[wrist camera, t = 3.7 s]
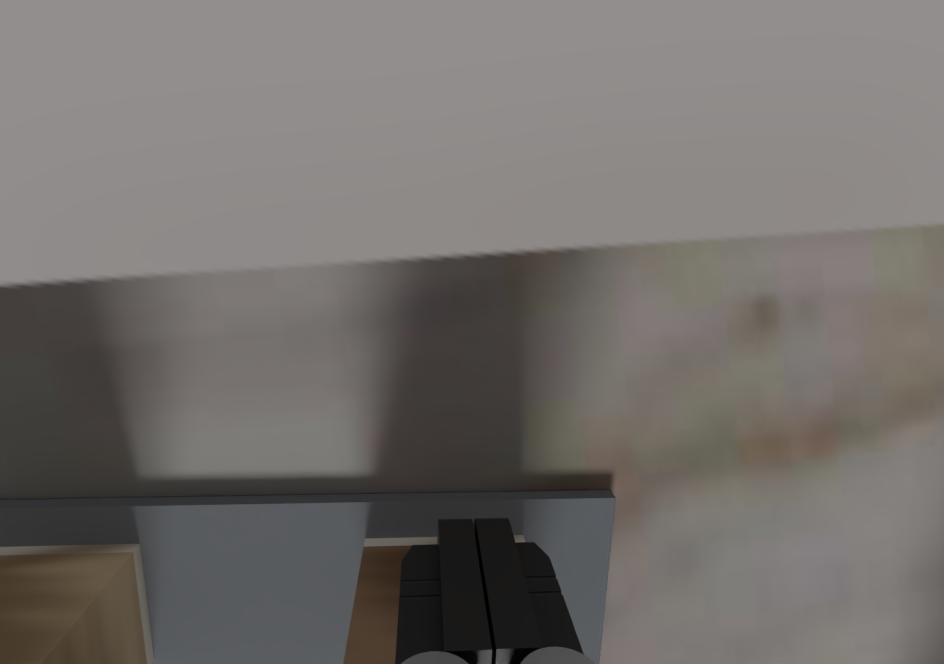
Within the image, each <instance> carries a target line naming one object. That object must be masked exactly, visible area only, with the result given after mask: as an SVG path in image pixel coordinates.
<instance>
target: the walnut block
mask: <svg viewBox="0 0 944 664" xmlns="http://www.w3.org/2000/svg"><path fill="white" fill-rule="evenodd" d="M514 539H515V543H516V542H525V539H524V535H514ZM429 544H437V537H407V538H365V541H364V546H363V552H362V558H361V564H360V569H359V575H358V581H357V587H356V592H355V598H354V604H353V610H352V616H351V621H350V627H349V633H348V639H347V644H346V650H345V656H344V662H343V664H395V657H396V641H397V625H398V609H399V593H400V577H401V561H402V560H403V558H404V557H405V555H406V554H407V552H408V551H409V550H410V548H411V547H412V545H429Z"/></svg>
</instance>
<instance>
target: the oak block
mask: <svg viewBox="0 0 944 664" xmlns="http://www.w3.org/2000/svg"><path fill="white" fill-rule="evenodd" d="M153 661H154V655H153V646H152V638H151V630H150V621H149V613H148V605H147V596H146V588H145V580H144V572H143V563H142V555H141V547H140V544H104V545H61V546H18V547H0V664H152V663H153Z"/></svg>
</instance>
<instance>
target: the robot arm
mask: <svg viewBox="0 0 944 664" xmlns="http://www.w3.org/2000/svg"><path fill="white" fill-rule="evenodd" d="M395 664H596V663H595V662H593V661H592V660H591V659H590V658H588V657H587V656H585V655H584V653H583V651H582V648H581V645H580V642H579V639H578V636H577V634H576V631H575V628H574V625H573V622H572V619H571V617H570V614H569V611H568V608H567V605H566V602H565V600H564V597H563V595H562V593H561V588H560V585H559V583H558V580H557V579H556V574H555V571H554V568H553V566H552V563H551V560H550V557H549V556H548V555H547V554H546V553H545V552H544V551H543V550H542V549H541V548H540V547H539V546H538V545H537V544H536V543H535V542H516V543H515V539H514V535H513V532H512V528H511V524H510V521H509V518H475V519H474V523H473V521H472V519H438V529H437V544H429V545H412V547H411V548H410V550H409V551H408V552H407V554H406V555H405V557H404V558H403V560H402V561H401V577H400V593H399V609H398V625H397V641H396V657H395Z"/></svg>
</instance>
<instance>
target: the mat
mask: <svg viewBox="0 0 944 664" xmlns="http://www.w3.org/2000/svg"><path fill="white" fill-rule="evenodd" d="M615 499H616V498H615V496H614V495H613V493H612V492H611V490H577V491H515V492H452V493H389V494H326V495H263V496H201V497H138V498H75V499H12V500H0V547H18V546H61V545H104V544H140V547H141V555H142V563H143V572H144V580H145V588H146V596H147V605H148V613H149V621H150V630H151V638H152V646H153V655H154V661H153V663H152V664H343V662H344V656H345V650H346V644H347V639H348V633H349V627H350V621H351V616H352V610H353V604H354V598H355V592H356V587H357V581H358V575H359V569H360V564H361V558H362V552H363V546H364V541H365V538H407V537H437V529H438V519H472V521H473V523H474V519H475V518H509V521H510V524H511V528H512V532H513V535H524V539H525V542H535V543H536V544H537V545H538V546H539V547H540V548H541V549H542V550H543V551H544V552H545V553H546V554H547V555H548V556H549V557H550V560H551V563H552V566H553V568H554V571H555V574H556V579H557V580H558V583H559V585H560V588H561V593H562V595H563V597H564V600H565V602H566V605H567V608H568V611H569V614H570V617H571V619H572V622H573V625H574V628H575V631H576V634H577V636H578V639H579V642H580V645H581V648H582V651H583V653H584V655H585V656H587V657H588V658H590V659H591V660H592V661H593V662H595V663H596V664H599V660H600V650H601V640H602V630H603V620H604V610H605V600H606V590H607V580H608V570H609V560H610V549H611V539H612V529H613V519H614V509H615Z"/></svg>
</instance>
